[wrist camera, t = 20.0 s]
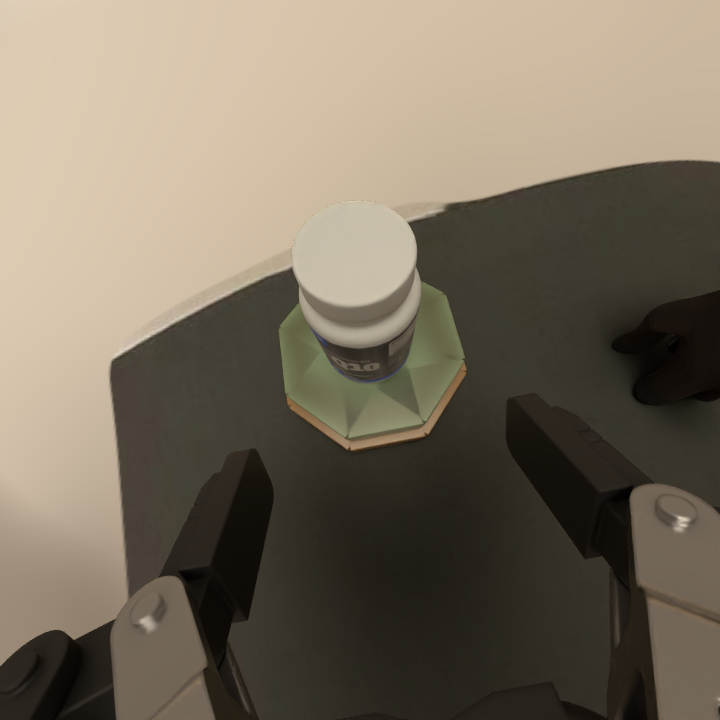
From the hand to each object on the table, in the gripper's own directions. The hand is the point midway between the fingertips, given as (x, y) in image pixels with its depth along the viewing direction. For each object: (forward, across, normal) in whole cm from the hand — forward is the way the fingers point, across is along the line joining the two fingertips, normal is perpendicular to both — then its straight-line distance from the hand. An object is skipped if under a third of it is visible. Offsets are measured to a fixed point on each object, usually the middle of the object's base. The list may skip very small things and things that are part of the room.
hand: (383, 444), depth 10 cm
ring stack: (+11, 0, +3) cm, 12 cm away
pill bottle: (+9, 0, 0) cm, 9 cm away
